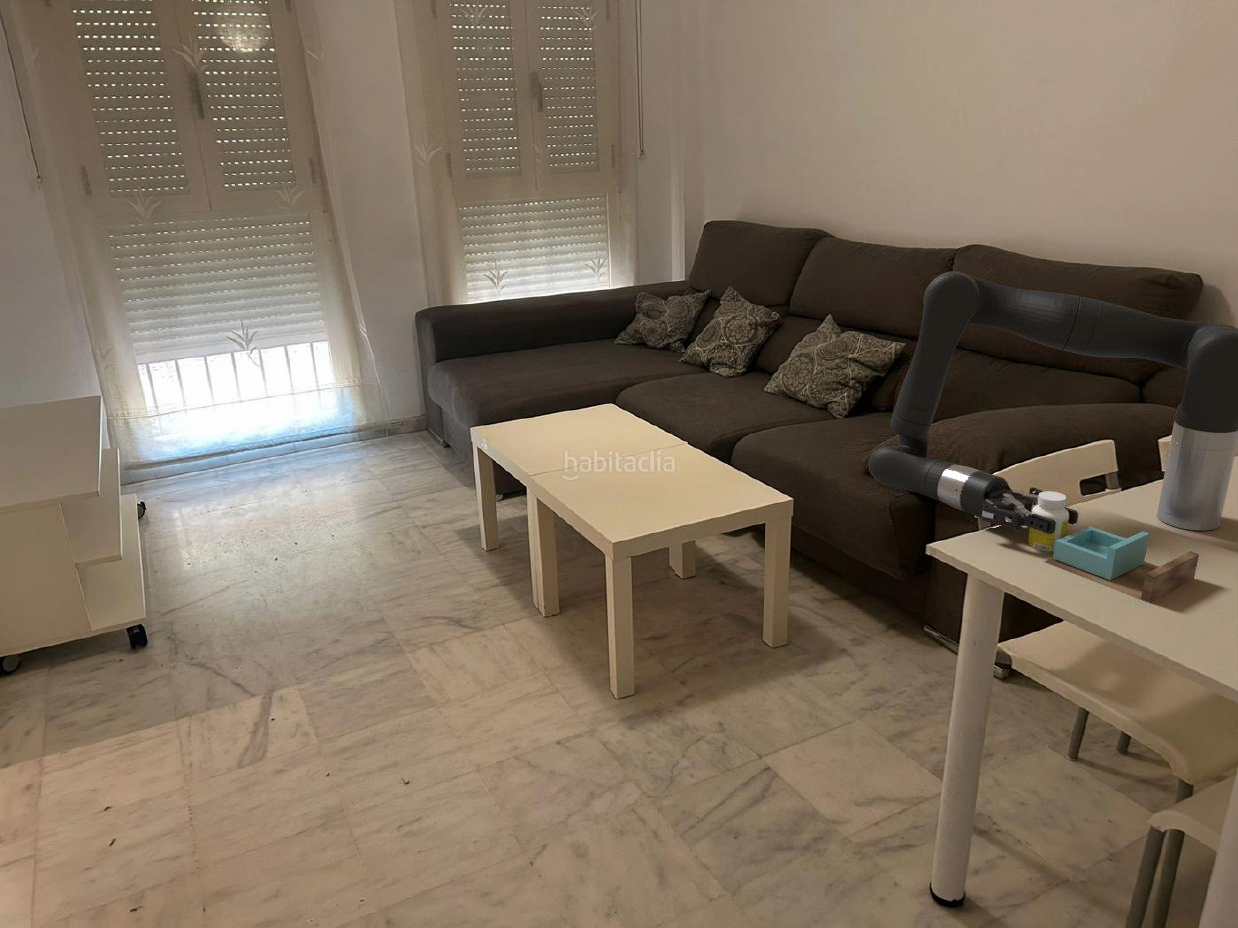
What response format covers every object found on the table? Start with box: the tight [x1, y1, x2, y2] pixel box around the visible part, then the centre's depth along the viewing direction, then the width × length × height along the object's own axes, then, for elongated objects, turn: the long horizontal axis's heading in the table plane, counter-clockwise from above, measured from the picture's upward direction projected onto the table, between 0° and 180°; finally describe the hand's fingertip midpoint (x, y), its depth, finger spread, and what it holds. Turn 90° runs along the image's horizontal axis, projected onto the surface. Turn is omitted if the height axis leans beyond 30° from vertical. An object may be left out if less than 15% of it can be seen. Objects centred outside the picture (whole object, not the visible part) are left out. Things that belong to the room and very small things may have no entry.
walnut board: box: [1043, 550, 1200, 604], centre depth 133 cm, size 12×16×6 cm
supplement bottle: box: [1027, 490, 1069, 552], centre depth 142 cm, size 5×5×10 cm
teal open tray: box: [1052, 525, 1150, 580], centre depth 135 cm, size 9×9×5 cm
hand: (1064, 522), depth 139 cm, fingers closed on supplement bottle, 5 cm apart
